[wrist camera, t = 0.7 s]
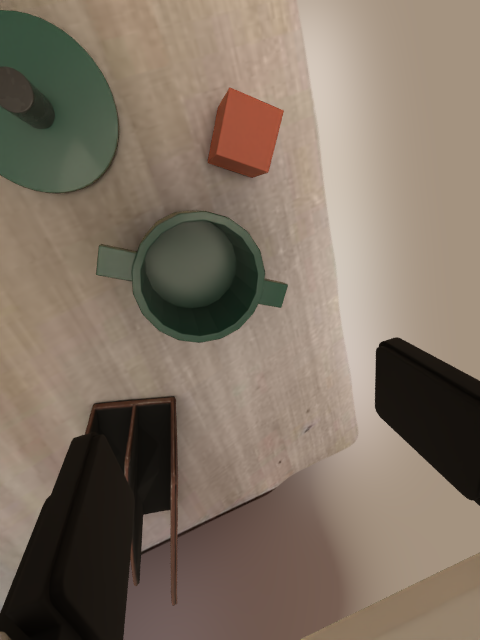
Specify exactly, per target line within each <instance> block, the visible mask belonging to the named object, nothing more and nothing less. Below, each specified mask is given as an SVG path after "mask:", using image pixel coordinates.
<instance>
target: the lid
mask: <svg viewBox="0 0 480 640" xmlns="http://www.w3.org/2000/svg"><path fill="white" fill-rule="evenodd" d="M118 139H119V122H118V114H117V109H116V105H115V102H114V99H113V95H112V93H111V91H110V88H109V86H108V84H107V81H106V80H105V78H104V76H103V74H102V72H101V71H100V69H99V68H98V66H97V65H96V63H95V62H94V60H93V59H92V58H91V57H90V56H89V54H88V53H87V52H86V51H85V50H84V49H83V48H82V47H81V46H80V45H79V44H78V43H77V42H76V41H75V40H74V39H73V38H72V37H70V36H69V35H68V34H67V33H65V32H64V31H63V30H61V29H59V28H58V27H56V26H55V25H53V24H51V23H49V22H47V21H45V20H43V19H41V18H39V17H36V16H33V15H30V14H27V13H22V12H17V11H8V10H0V175H1V176H3V177H5V178H6V179H8V180H10V181H12V182H14V183H16V184H18V185H21V186H23V187H26V188H29V189H32V190H36V191H41V192H47V193H68V192H73V191H77V190H80V189H83V188H85V187H87V186H89V185H91V184H92V183H94V182H95V181H96V180H98V179H99V178H100V177H101V176H102V175H103V174H104V173H105V172H106V170H107V169H108V167H109V166H110V164H111V162H112V160H113V158H114V156H115V152H116V149H117V145H118Z"/></svg>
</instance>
